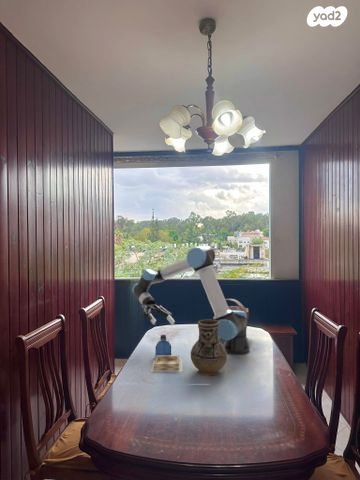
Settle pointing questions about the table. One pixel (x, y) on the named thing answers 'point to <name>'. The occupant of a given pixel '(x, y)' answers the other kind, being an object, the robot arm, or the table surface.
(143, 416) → the table surface
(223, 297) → the robot arm
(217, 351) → the decorative pitcher
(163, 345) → the perfume bottle
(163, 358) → the oak box
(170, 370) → the felt mat
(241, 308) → the bucket
